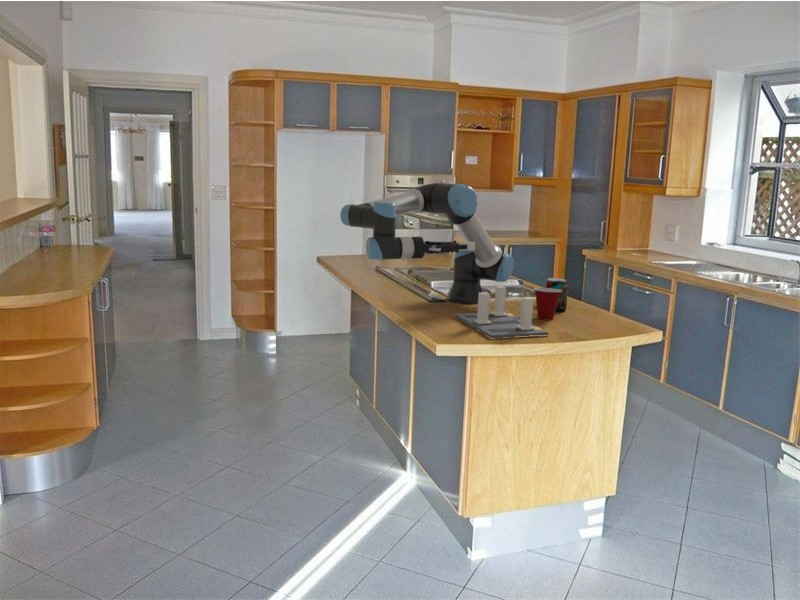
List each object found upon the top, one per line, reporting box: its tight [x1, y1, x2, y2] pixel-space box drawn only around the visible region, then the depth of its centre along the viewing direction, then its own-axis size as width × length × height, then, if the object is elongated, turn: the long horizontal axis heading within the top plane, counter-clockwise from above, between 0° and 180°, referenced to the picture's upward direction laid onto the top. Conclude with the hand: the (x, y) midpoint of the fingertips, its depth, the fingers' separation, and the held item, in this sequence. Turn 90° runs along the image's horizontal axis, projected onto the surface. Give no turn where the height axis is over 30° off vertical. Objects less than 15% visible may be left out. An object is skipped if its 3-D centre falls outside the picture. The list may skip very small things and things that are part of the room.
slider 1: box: [474, 291, 491, 324], centre depth 257 cm, size 4×5×11 cm
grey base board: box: [455, 311, 549, 339], centre depth 261 cm, size 33×22×2 cm, turn 17°
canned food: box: [546, 277, 567, 288], centre depth 302 cm, size 8×8×11 cm
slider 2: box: [490, 285, 508, 316], centre depth 271 cm, size 4×5×11 cm
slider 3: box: [516, 296, 535, 330], centre depth 251 cm, size 4×5×11 cm
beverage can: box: [550, 281, 569, 313], centre depth 290 cm, size 7×7×12 cm
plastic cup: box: [533, 287, 562, 321], centre depth 275 cm, size 11×11×12 cm
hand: (474, 246), depth 250 cm, fingers closed
